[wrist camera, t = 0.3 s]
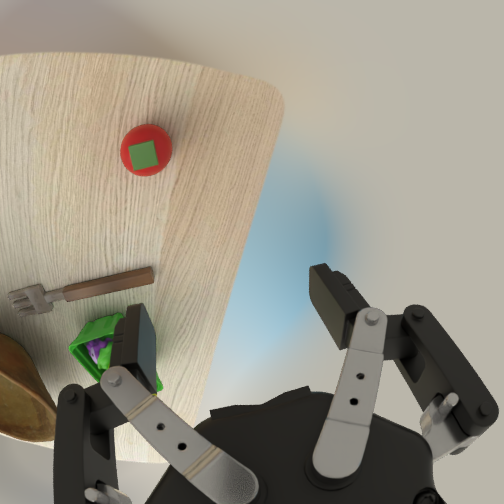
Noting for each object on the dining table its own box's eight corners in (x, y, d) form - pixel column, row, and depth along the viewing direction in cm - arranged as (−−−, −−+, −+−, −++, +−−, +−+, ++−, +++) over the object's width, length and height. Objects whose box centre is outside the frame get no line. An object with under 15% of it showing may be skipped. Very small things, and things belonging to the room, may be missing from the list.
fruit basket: (73, 317, 32) (54, 391, 22) (133, 297, 32) (125, 377, 23) (117, 372, 38) (114, 440, 28) (172, 357, 39) (178, 429, 29)
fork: (22, 313, 30) (19, 319, 29) (9, 291, 28) (5, 297, 27) (157, 284, 32) (157, 291, 31) (147, 257, 30) (147, 263, 29)
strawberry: (120, 128, 23) (109, 136, 20) (168, 116, 24) (165, 121, 20) (131, 173, 26) (123, 189, 22) (176, 162, 26) (176, 176, 22)
